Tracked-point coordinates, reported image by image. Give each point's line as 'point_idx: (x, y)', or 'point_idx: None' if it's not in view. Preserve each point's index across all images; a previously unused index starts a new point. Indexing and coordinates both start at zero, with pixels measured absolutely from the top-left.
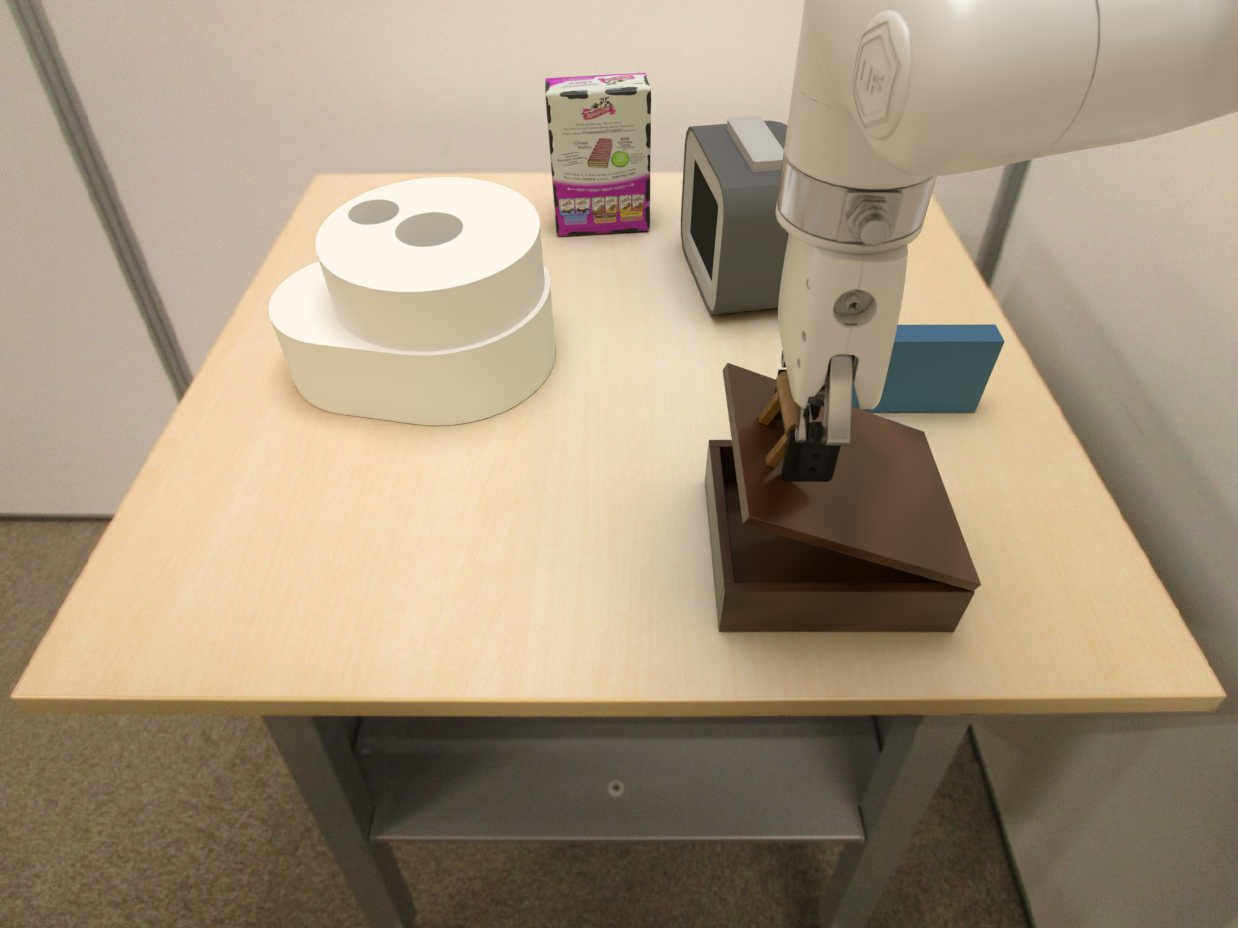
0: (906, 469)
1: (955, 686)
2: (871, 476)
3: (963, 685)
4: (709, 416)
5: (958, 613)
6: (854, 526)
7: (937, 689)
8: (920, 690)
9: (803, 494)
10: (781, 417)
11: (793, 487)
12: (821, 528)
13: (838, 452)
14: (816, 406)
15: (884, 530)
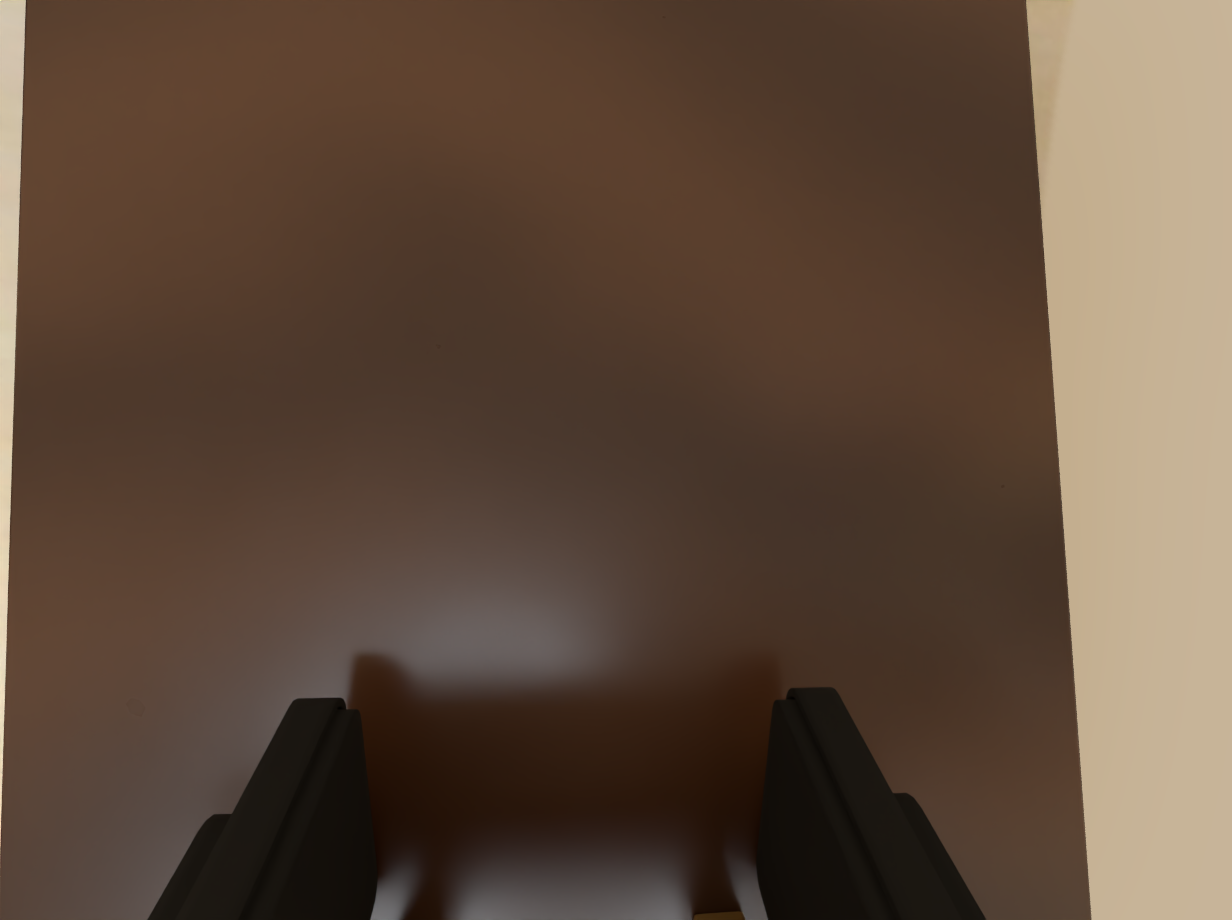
0: (412, 86)
1: (1044, 50)
2: (560, 328)
3: (1045, 23)
4: (3, 634)
5: None
6: (939, 507)
7: (1043, 109)
8: (1037, 161)
9: None
10: (371, 873)
11: None
12: (1023, 695)
13: (919, 847)
14: (330, 794)
15: (898, 340)
